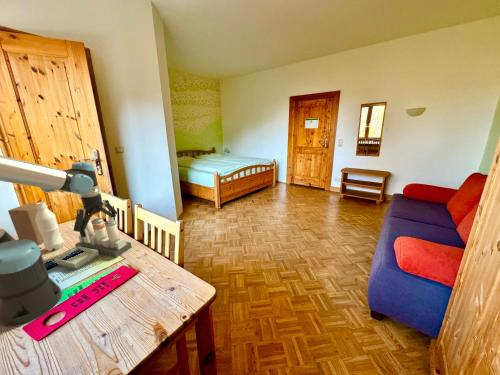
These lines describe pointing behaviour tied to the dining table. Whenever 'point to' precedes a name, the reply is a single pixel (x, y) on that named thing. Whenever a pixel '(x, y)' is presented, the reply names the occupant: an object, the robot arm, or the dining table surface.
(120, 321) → the dining table surface
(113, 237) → the cylinder
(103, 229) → the marked fuse
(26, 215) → the wooden block
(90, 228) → the fuse far
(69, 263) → the tray
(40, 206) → the water bottle
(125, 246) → the block
